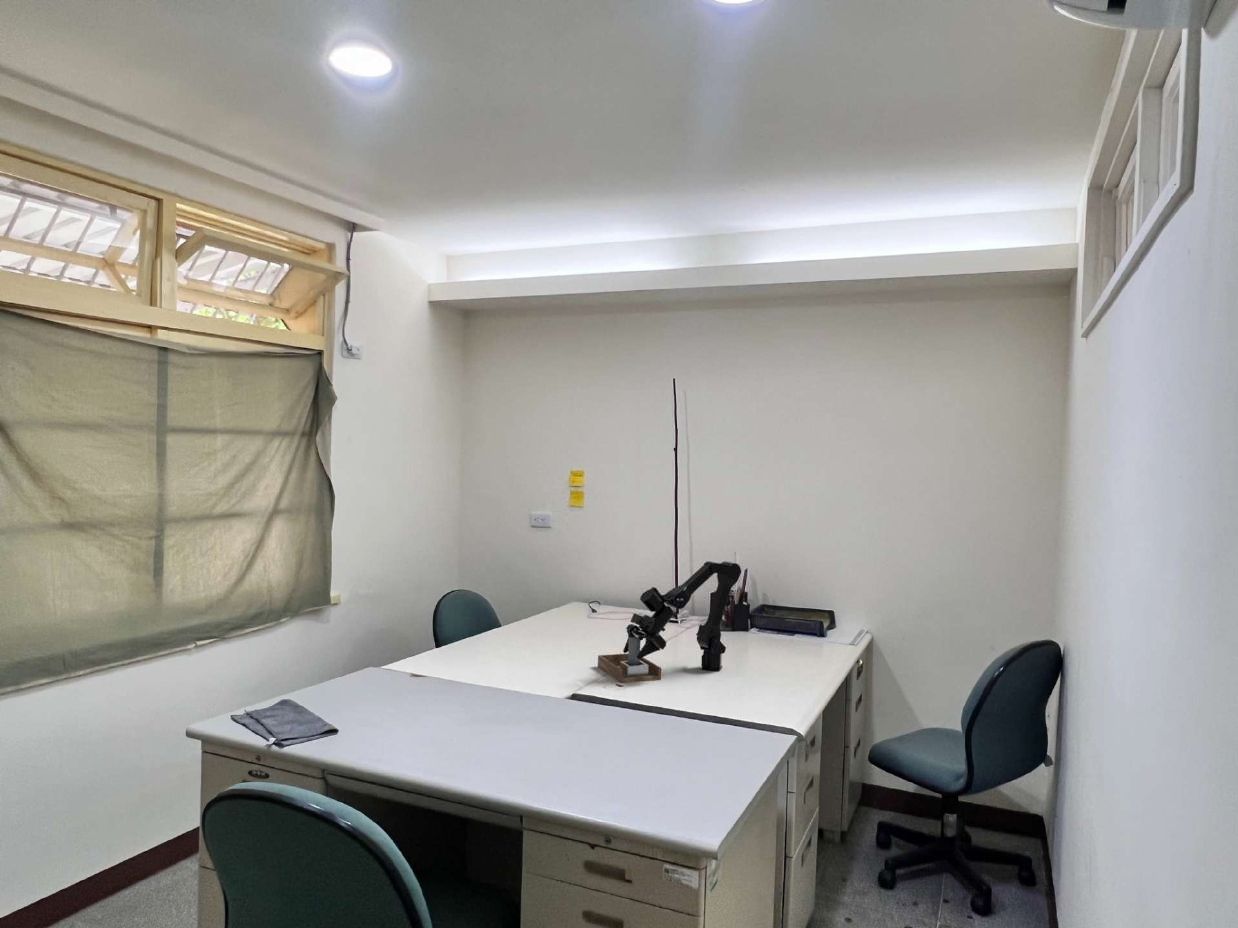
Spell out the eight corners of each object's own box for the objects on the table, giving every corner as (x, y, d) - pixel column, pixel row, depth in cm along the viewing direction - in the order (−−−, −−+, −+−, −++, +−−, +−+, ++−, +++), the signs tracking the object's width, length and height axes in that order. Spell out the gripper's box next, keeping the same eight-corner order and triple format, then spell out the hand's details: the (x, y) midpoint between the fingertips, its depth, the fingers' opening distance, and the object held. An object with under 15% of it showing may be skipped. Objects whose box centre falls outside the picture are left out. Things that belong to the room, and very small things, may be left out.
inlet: (639, 672, 288) (639, 659, 288) (648, 678, 281) (648, 664, 281) (619, 674, 285) (619, 661, 285) (627, 679, 278) (627, 666, 278)
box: (635, 665, 301) (635, 652, 301) (660, 680, 279) (661, 667, 279) (597, 667, 295) (598, 655, 295) (620, 684, 274) (620, 670, 274)
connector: (639, 674, 285) (640, 637, 285) (639, 677, 281) (640, 639, 281) (627, 674, 285) (628, 636, 285) (627, 677, 281) (628, 639, 281)
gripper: (631, 600, 293) (603, 634, 287) (659, 609, 277) (630, 645, 271) (649, 621, 297) (622, 655, 291) (678, 631, 281) (650, 667, 275)
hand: (630, 655), depth 282 cm, fingers open, 9 cm apart
